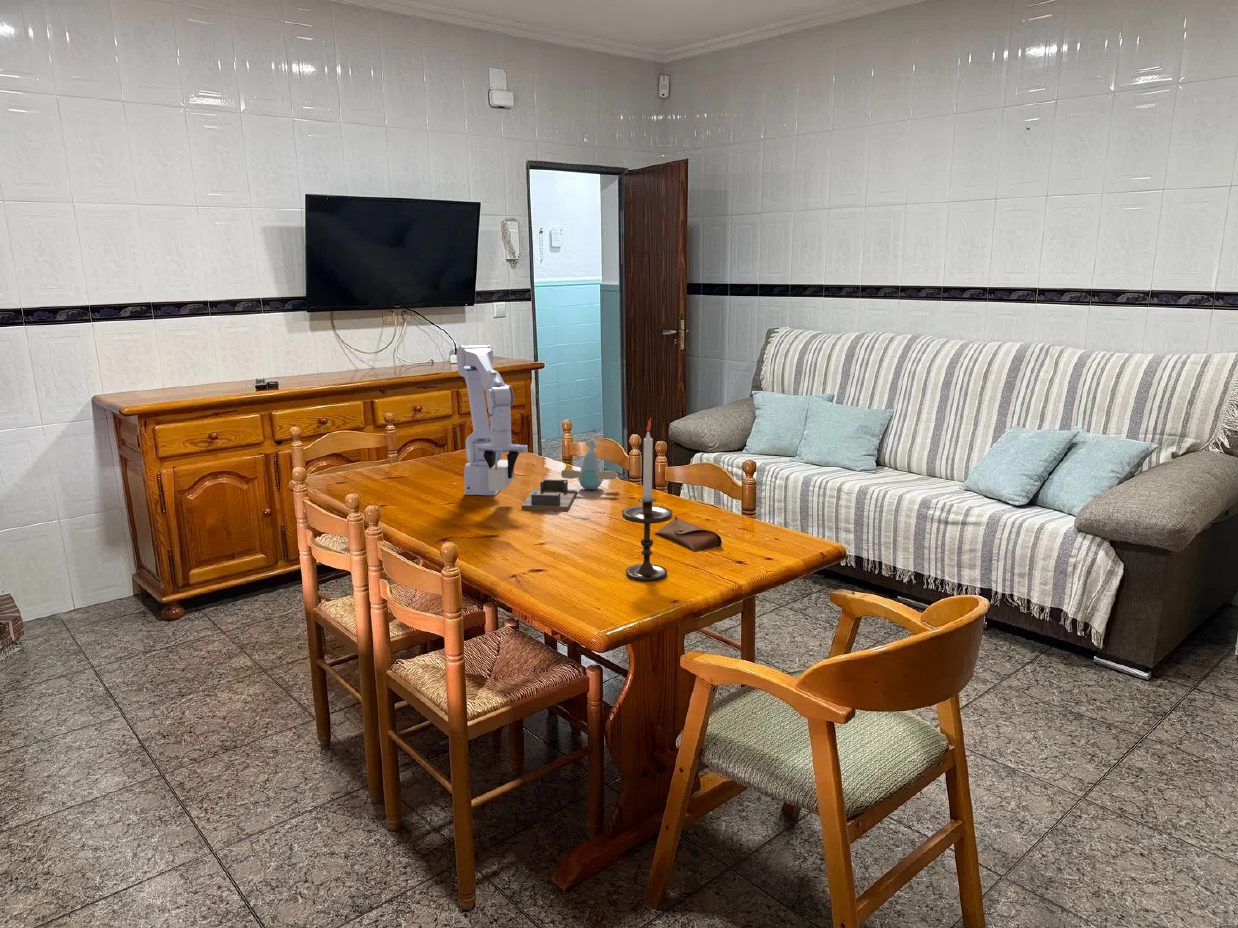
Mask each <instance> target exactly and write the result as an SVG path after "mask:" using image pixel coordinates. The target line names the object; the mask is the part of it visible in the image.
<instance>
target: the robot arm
mask: <svg viewBox="0 0 1238 928" xmlns="http://www.w3.org/2000/svg"><path fill="white" fill-rule="evenodd" d="M493 362H494V351H493V347H492V346H491V345H490V344H483V345H482V344H478V345H477V344H475V345H474V344H473V345H461V344H460V345H459V346H458V347H457V349H456V364H457V371H458V374H459V376H461V377H462V378H464V381H465V383H466V387H467V388H466V389H467V395H468V403H469V410H470V417H471V423H472V429H473V431H472V433H470V434H469V435H468V436H467V437H466V440H465V456H466V460H467V461H468V462H466V463H465V466H464V469H463V470H464V472H463V479H464V480H463V481H464V493H463V494H464V495H465V496H467V495H469V496H470V495H471V496H475V495H476V496H477V495H478V496H496V495H497V494H498V493H499V492H500V491H497V490H489V480H488V470H489V469H491V468H492V467H493V466H494V465H495V463H497V462H498V461H499V460H502V458H503V453H507V454H506V460H508V478H512V473H513V468H514V469H515V465H516V463H517V462H516V461H517V459H518V457H519V454H521V453H522V454H527V453H528V445H527V444H518V443H512V417H511V416H512V413H511V407H513V405H514V398H515V397H514V391H513V388H512V386H511V384H510V385H508V384H506V383H505V382H504V380H503V378H502V376H501V374H500V372H498V370H494V368H493ZM484 391H485V392H484ZM485 393H486V394H485ZM485 395H486V396H485ZM486 403H487V404H486ZM487 410H488V412H487ZM488 414H489V417H488Z"/></svg>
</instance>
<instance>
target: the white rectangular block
mask: <svg viewBox="0 0 1238 928" xmlns="http://www.w3.org/2000/svg"><path fill="white" fill-rule="evenodd" d="M488 480H489V490H497V491H499V492H500V491H501V492H502V491H505V489H507V487H509V485H510V484H511V483H512V482H513V480H515V467H514V468H513V473H512V478H508V460H507V459H500V460H499V461H498V462H497V463H495V465H494V466H493V467H492V468H491V469H489V470H488Z"/></svg>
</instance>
